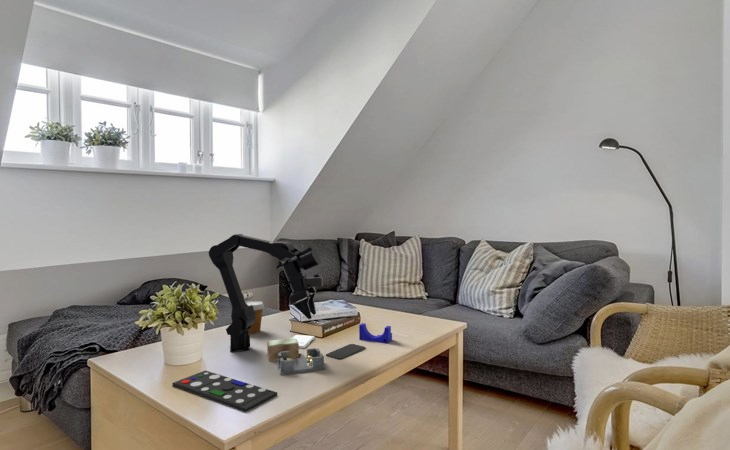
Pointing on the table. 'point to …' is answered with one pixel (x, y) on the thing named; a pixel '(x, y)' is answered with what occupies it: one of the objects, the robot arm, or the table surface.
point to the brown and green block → (282, 348)
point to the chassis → (300, 362)
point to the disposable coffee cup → (256, 316)
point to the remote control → (225, 390)
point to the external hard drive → (303, 340)
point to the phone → (345, 351)
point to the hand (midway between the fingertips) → (312, 316)
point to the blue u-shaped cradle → (367, 336)
